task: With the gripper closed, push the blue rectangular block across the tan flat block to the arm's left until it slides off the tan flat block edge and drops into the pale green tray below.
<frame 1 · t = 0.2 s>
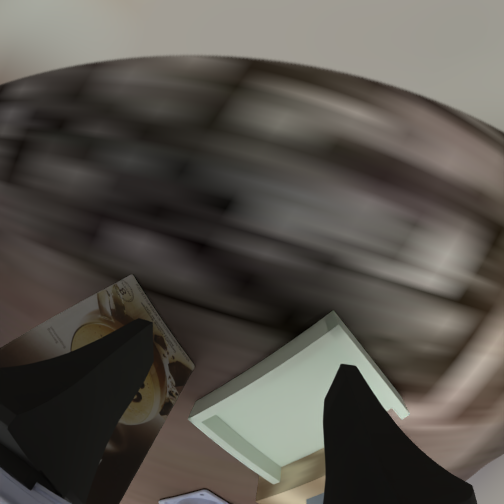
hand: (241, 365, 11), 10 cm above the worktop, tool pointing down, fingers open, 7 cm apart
coffee box: (139, 334, 23), on the worktop
tray: (300, 405, 23), on the worktop
tan flat block: (341, 472, 24), on the worktop
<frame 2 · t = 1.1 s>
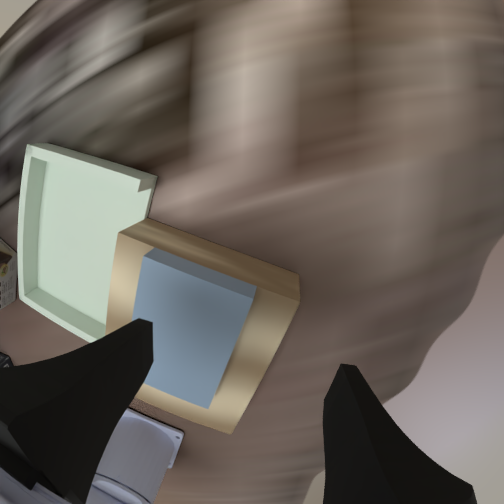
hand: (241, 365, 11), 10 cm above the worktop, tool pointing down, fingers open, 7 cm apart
tray: (80, 242, 21), on the worktop
tan flat block: (196, 322, 22), on the worktop
blue rectangular block: (185, 330, 18), point 4 cm above the worktop, touching tan flat block
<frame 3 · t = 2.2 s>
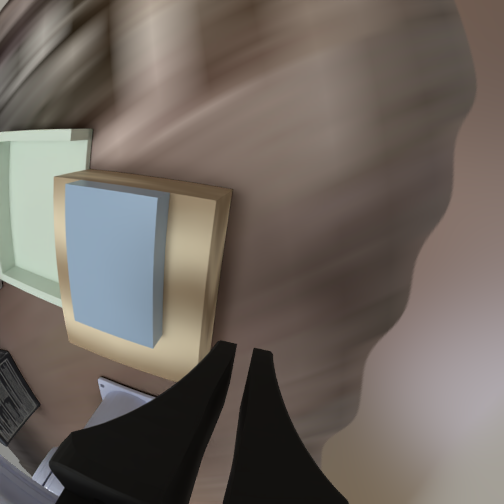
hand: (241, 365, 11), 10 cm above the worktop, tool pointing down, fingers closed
small box: (15, 375, 32), on the worktop
tray: (42, 210, 21), on the worktop
tan flat block: (147, 265, 21), on the worktop
blue rectangular block: (119, 260, 17), point 4 cm above the worktop, touching tan flat block
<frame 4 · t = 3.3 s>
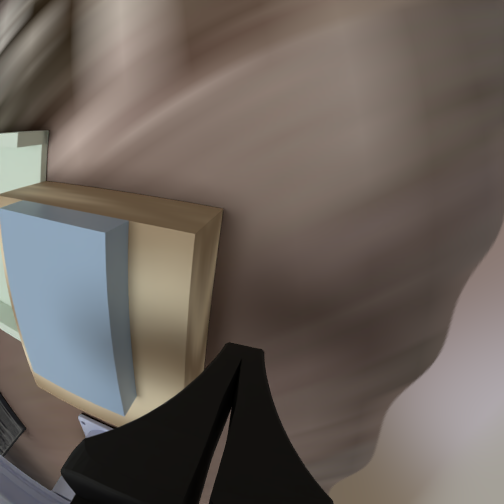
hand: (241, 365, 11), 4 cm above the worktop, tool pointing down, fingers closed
tray: (2, 230, 16), on the worktop
tan flat block: (118, 303, 16), on the worktop
blue rectangular block: (74, 306, 12), point 4 cm above the worktop, touching tan flat block
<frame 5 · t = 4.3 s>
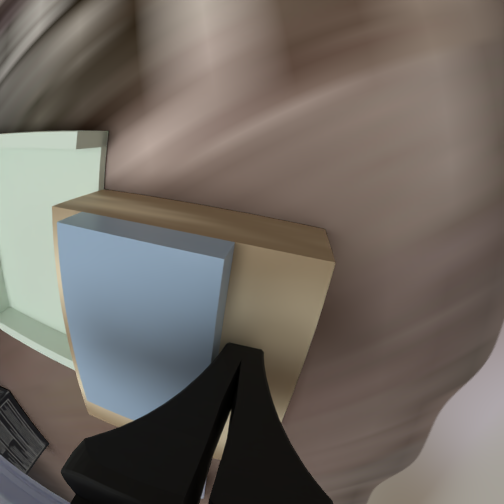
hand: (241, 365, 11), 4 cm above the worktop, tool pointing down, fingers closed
small box: (18, 412, 27), on the worktop
tray: (39, 242, 16), on the worktop
tan flat block: (191, 324, 16), on the worktop
blue rectangular block: (147, 332, 11), point 4 cm above the worktop
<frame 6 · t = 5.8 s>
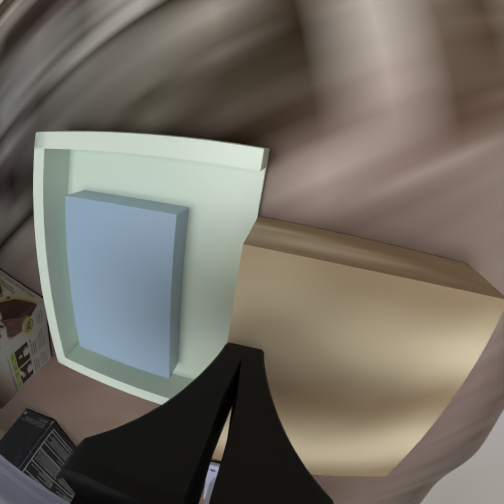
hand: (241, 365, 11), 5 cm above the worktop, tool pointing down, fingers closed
coffee box: (14, 304, 19), on the worktop
small box: (60, 439, 26), on the worktop
tray: (141, 271, 15), on the worktop
tan flat block: (337, 354, 15), on the worktop
blue rectangular block: (114, 294, 14), point 2 cm above the worktop, tilted 180°, touching tray
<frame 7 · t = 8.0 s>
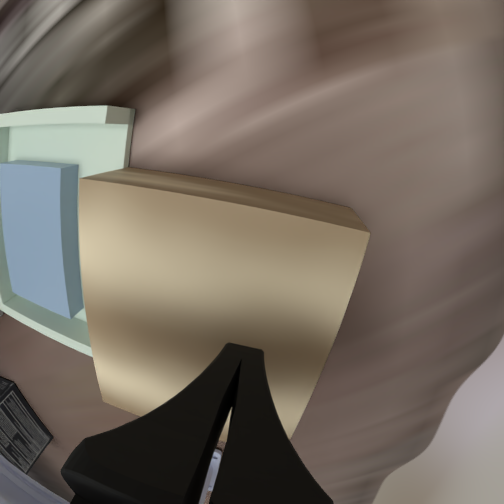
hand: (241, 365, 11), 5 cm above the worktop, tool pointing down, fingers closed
small box: (22, 405, 27), on the worktop
tray: (54, 223, 16), on the worktop
tan flat block: (214, 305, 16), on the worktop
blue rectangular block: (29, 240, 14), point 2 cm above the worktop, tilted 180°, touching tray
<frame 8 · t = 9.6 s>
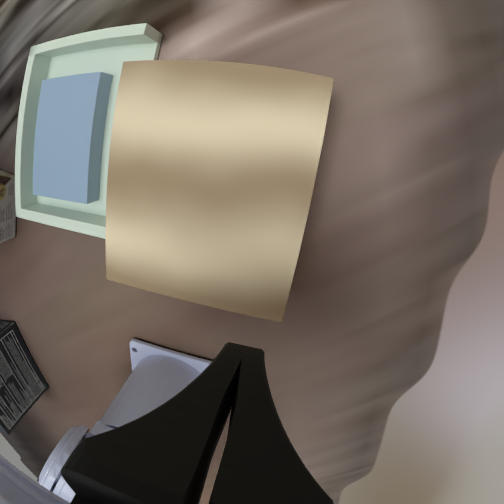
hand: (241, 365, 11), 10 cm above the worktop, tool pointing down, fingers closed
small box: (21, 352, 29), on the worktop
tray: (83, 128, 18), on the worktop
tan flat block: (218, 178, 18), on the worktop
blue rectangular block: (60, 137, 17), point 2 cm above the worktop, tilted 180°, touching tray
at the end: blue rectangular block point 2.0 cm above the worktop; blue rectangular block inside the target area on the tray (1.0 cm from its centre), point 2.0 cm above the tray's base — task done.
